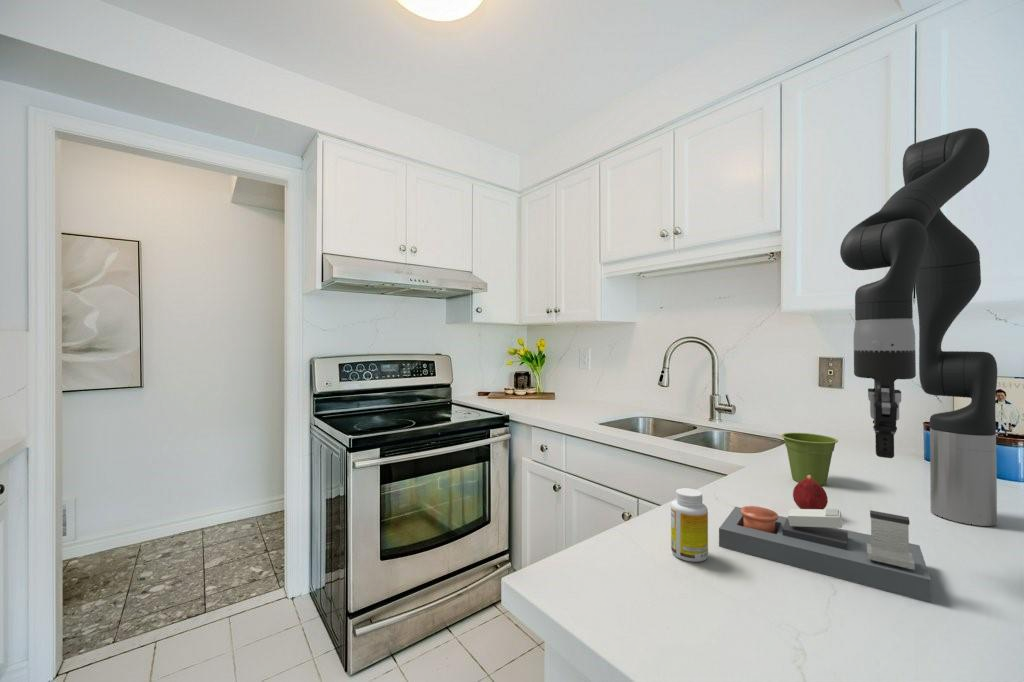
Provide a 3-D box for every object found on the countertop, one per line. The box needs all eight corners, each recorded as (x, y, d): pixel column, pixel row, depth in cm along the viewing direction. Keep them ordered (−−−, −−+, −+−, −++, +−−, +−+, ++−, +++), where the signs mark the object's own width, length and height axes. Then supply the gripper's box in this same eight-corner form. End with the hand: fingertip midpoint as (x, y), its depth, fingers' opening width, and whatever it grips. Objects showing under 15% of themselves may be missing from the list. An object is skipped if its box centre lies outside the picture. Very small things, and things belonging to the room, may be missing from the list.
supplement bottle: (715, 559, 69) (715, 494, 69) (690, 566, 67) (690, 499, 67) (687, 544, 74) (687, 484, 74) (663, 551, 72) (663, 489, 72)
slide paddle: (866, 548, 65) (866, 507, 65) (911, 558, 62) (911, 515, 62) (867, 558, 62) (866, 515, 62) (914, 569, 59) (914, 524, 59)
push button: (744, 527, 79) (744, 503, 79) (780, 536, 76) (779, 511, 76) (737, 538, 75) (737, 512, 75) (775, 547, 72) (775, 520, 72)
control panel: (735, 522, 84) (735, 501, 84) (919, 564, 68) (919, 538, 68) (719, 546, 73) (718, 522, 74) (931, 602, 57) (930, 572, 57)
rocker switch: (792, 518, 74) (789, 507, 74) (842, 520, 70) (839, 508, 70) (789, 526, 71) (787, 514, 71) (842, 528, 67) (839, 515, 67)
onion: (833, 522, 84) (833, 480, 84) (800, 519, 85) (800, 478, 85) (818, 511, 90) (818, 472, 90) (788, 509, 91) (787, 470, 91)
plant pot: (770, 476, 114) (770, 433, 114) (807, 473, 117) (806, 431, 117) (811, 490, 103) (811, 443, 103) (850, 487, 105) (850, 440, 106)
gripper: (920, 348, 62) (921, 470, 62) (911, 347, 72) (912, 451, 72) (853, 348, 66) (854, 461, 66) (853, 347, 77) (854, 445, 77)
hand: (884, 456), depth 69 cm, fingers closed
